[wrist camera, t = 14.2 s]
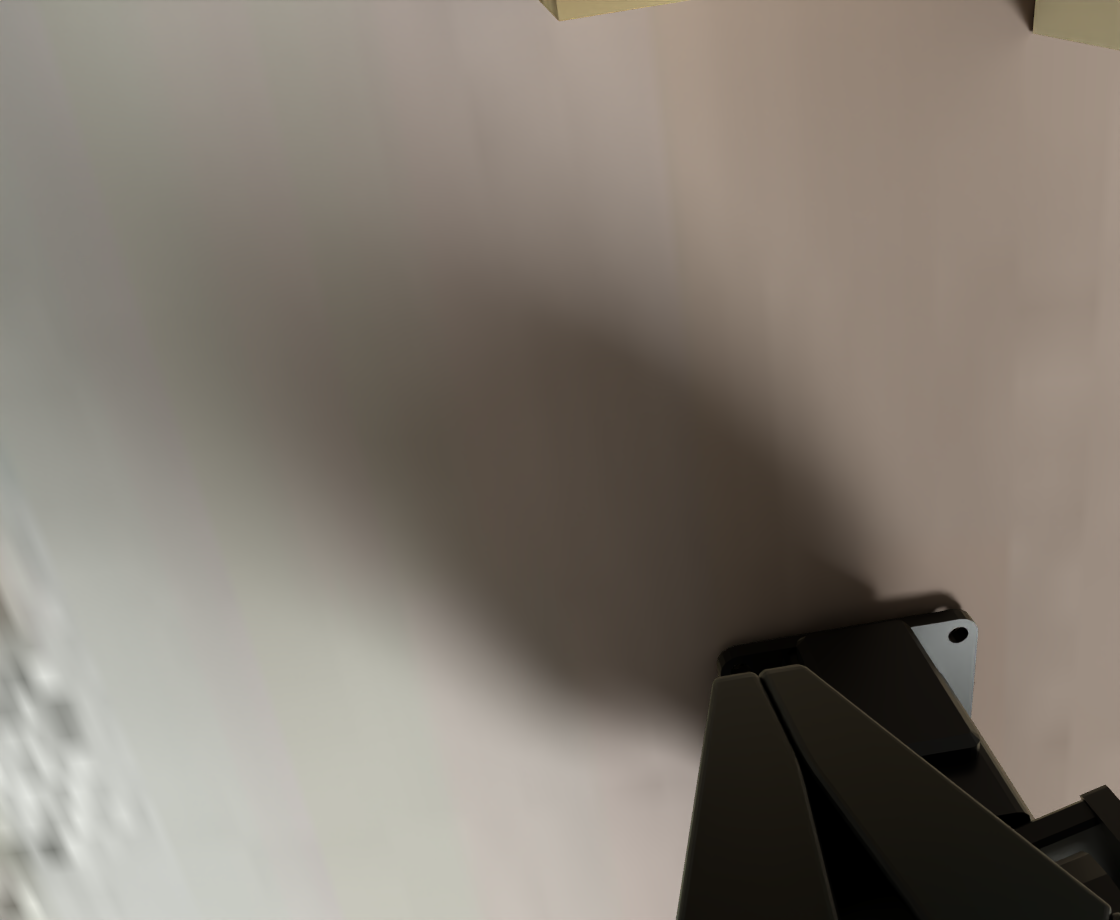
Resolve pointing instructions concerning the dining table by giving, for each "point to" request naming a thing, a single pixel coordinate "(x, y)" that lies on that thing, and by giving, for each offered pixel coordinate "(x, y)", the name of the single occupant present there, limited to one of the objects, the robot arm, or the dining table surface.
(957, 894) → the robot arm
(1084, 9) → the stop wall
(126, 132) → the dining table surface
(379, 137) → the dining table surface
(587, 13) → the block
